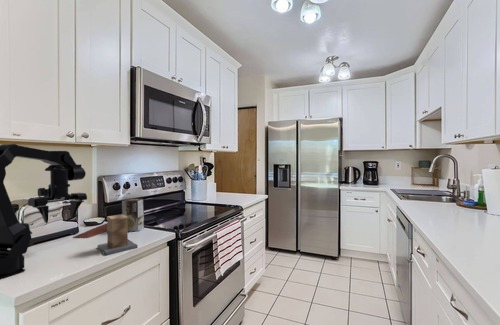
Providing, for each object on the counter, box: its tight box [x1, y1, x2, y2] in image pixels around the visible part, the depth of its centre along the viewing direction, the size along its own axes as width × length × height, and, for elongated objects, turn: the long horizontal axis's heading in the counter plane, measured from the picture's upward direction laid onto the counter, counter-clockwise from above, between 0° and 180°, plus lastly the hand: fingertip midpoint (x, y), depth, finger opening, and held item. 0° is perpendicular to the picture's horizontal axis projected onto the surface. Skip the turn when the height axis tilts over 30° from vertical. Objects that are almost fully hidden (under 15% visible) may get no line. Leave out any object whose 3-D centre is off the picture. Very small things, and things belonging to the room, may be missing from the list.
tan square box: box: [106, 213, 129, 249], centre depth 107 cm, size 6×6×12 cm
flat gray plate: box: [97, 239, 138, 256], centre depth 107 cm, size 12×12×3 cm
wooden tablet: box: [72, 222, 107, 239], centre depth 132 cm, size 27×10×2 cm, turn 172°
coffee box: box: [121, 198, 145, 232], centre depth 135 cm, size 9×6×16 cm
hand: (59, 220), depth 101 cm, fingers open, 9 cm apart
